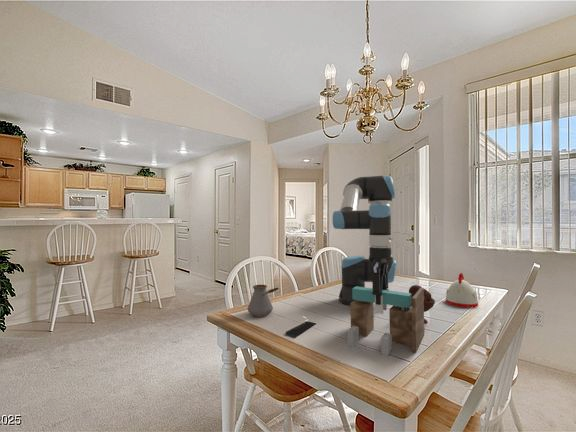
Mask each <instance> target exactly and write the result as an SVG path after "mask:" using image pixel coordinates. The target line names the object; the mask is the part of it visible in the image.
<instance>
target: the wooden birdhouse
mask: <svg viewBox="0 0 576 432" xmlns="http://www.w3.org/2000/svg"><path fill="white" fill-rule="evenodd" d="M424 289H425V287H422V288H420V289H419V290H418V291H417V293H416V294H415V295H414V296H413V297H412V306H410V308H407V311H402V310H401V307H400V306H394V305H391V307H390V308H389V333H390V334H392V344H393V343H394V344H397V345H402V346H407V347H411V348H412V353H415V354H416V353H418V350H419V348H420V346H421V343H422V342H423V339H424V337H425V324H424V319H425V312H424Z"/></svg>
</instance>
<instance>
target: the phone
mask: <svg viewBox="0 0 576 432" xmlns="http://www.w3.org/2000/svg"><path fill="white" fill-rule="evenodd" d="M316 325H317V323H315V322H313V321H304V322H303V323H301V324H299V325H297V326H294V327H293V328H291V329H289V330H286V331H285V336H288V337H291V338H294V339H296V338H298V337H299V336H301V335H302V334H304V333H305V332H307V331H308V330H310V329H311V328H313V327H314V326H316Z"/></svg>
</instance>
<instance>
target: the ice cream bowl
mask: <svg viewBox="0 0 576 432" xmlns="http://www.w3.org/2000/svg"><path fill="white" fill-rule="evenodd" d="M420 288H423V286H421V285H418V284H414V285H411V286H410V287H409V289H408V293H411V294H412V297H413V296H414V295H415V294H416V293H417V291H418V290H419V289H420ZM435 303H436V300H435V299H434V298H433V297H432V293H430V291H428V290H427V289H426V288H424V313H425V312H428V311H429V310H431V309H432V308H433V307H434V305H435ZM411 306H412V305H411ZM428 323H429V321H428V320H427V319H425V318H424V325H427V324H428Z"/></svg>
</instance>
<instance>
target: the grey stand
mask: <svg viewBox="0 0 576 432" xmlns="http://www.w3.org/2000/svg"><path fill="white" fill-rule="evenodd" d="M359 336H360V335H359V327H357V326H352V327H351V326H350V328H349V329H348V330H347V347H351V348H355V346H356V345H357V344H358V343H359V341H360V338H359ZM392 346H393V342H392V334H390V332H384V333H383V334H382V336H381V337H380V354H381V355H383V356H387V357H388V356H389V354H390V353H391V351H393V347H392Z"/></svg>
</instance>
